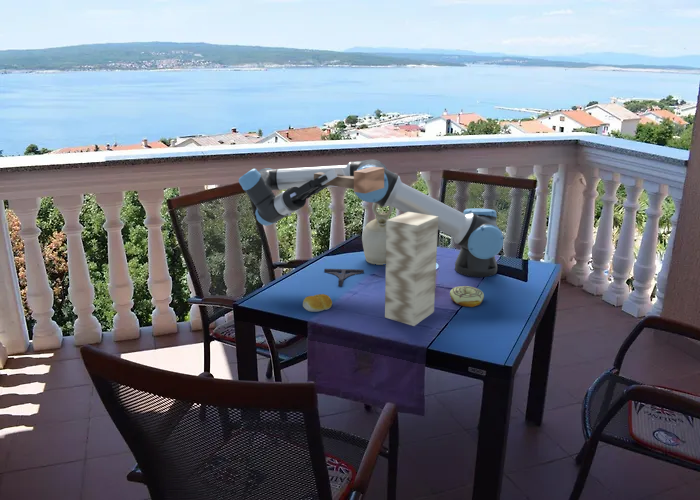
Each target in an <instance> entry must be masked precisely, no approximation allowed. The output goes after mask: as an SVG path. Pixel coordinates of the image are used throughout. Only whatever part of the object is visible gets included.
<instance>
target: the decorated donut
mask: <svg viewBox="0 0 700 500" xmlns="http://www.w3.org/2000/svg"><path fill="white" fill-rule="evenodd" d="M449 296H450V298H451V301H453V302H454V303H455V304H456V305H459V306H461V307H469V308H474V307H477V306H480V305H481V304H482V302H484V301H483V300H484V298H485V294H484V292H483V291H482V290H481V289H479V288H477V287H475V286H472V285H471V286H468V285H462V286H460V285H459V286H454V287H453V288H452V289H451V290H450V292H449Z"/></svg>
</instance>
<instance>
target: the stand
mask: <svg viewBox="0 0 700 500" xmlns="http://www.w3.org/2000/svg"><path fill="white" fill-rule="evenodd" d="M438 232H439V230H438V216H432V215H426V214H420V213H414V212H406V213H404V212H403V213H401V214H398V215H396V216H393V217H391V218H389V219H388V220H387V223H386V265H385V288H384V289H385V290H384V300H385V301H384V318H386V319H389V320H392V321H395V322H398V323H402V324H405V325H409V326H412V327H416V326H417V325H418V324H419V323H420V322H422V321H423V320H425V319H427V318H428V317H429V316H431V315H432V314H434V313H435V299H436V296H435V295H436V277H437V275H436V274H437V255H438V254H437V252H438Z"/></svg>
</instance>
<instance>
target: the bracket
mask: <svg viewBox="0 0 700 500" xmlns="http://www.w3.org/2000/svg"><path fill="white" fill-rule="evenodd" d="M323 272H324V273H326V274H330V275H332V276H336V277H337V278H338V282H337V283H338V285H337V286H338V287H342V286H343V284H344V281H345V280H346V279H347V278H348V277H351V276H355V274H356V275H362V274H364V272H365V269H356V268H355V269H352V268H350V269H349V268H324V271H323ZM361 273H362V274H361Z"/></svg>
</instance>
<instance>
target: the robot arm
mask: <svg viewBox="0 0 700 500" xmlns="http://www.w3.org/2000/svg"><path fill="white" fill-rule="evenodd" d="M370 167H381V168H384V188H382V189H378V190H375V191H372V192H369V193H358V192H354V194H355V196H356V197H358V199H360V200H361V201H363V202H366V203H371V204H373V203H376V204H377V206H380V207H382V208H386V207H389V206H392V207H393V209H394V208H395V209H397V210H398V211H401V212H402V213H403V214H404V213H406V212H414V213H420V214H426V215H432V216H438V231H441V232H442V233H444V234H446V235H448V236H451V237H452V238H453V239H454V240H453V241H454V243H455V244H457V245H459V246H460V251H459V253H458V255H457V257H456V260H455V262H454V270H455V271H456V272H457V273H458V274H461V275H463V276H468V277H472V278H473V277H474V278H486V277H491V276H494V275H496V274H497V272H498V262H497V259H496V256H497V255H498V254H499V253H500V252H501V250H502V248H503V246H504V235H503V232H502V229H500V227H499V226H498V224H497V218H498V216H497V211H496V210H495V209H493V208H492V209H491V208H479V207H477V208H475V207H474V208H473V207H472V208H466V209H464V210H463V212H462V211H459V210H458V209H456V208H453V207H452V206H450V205H447V204H446V203H443V202H441V201H440V200H437V199H436V198H434V197H432V196H430V195H427V194H426V193H423V192H422V191H419V190H418V189H416V188H414V187H413V186H409V185H408V184H406V183H404V182H402V180H401V177H400V175H398V174H397V173H394V171H393V172H392V171H390V170H389V169H388V167H387V166H386V165H385V164H384V163H383V162H381V161H379V160H377V159H365V160H358V161H357V160H356V161H349V162H348V163H347V164H343V165H341V164H339V165H323V166H308V167H307V166H306V167H292V168H289V167H288V168H276V169H275V168H270V167H267V168H262V169H260V170H258V169H257V168H252V169H251V170H249V171H247V172H246V173H244V174H243V175H241V176H240V177H239V178H238V183H239V185H240V186H241V188H242V190H243V191H244V193H246V195H247V196H248V197H249V199H250V200H251V202H252V203H253V204H254V206H255V207H256V209H255V216H256V217H255V218H256V220H257V221H258V223H259V224H261V225H262V226H266V227H267V226H271V225H274V224H276V223H278V222H279V221H281V220H283V219H284V218H286V217H287V216H288V217H290V216H292V214H293V213H294V212H296V211H297V210H299V209H301V208H304V207H305V205H306V204H307V203H306V202H307V199H310V198H311V197H312V196H313V195H315V194H319V193H320V192H321V191H323V190H325V188H337V187H338V186H331V185H324V184H326V183H328V182H329V181H331V180H333V179H334V178H336V177H338V176H337V174H338V175H345V176H353V177H354V171H358V170H362V169H366V168H370ZM318 172H322V173H325V174H323V175H322V176H320V177H318V178H319V179H318V178H316V179H315V180H314V173H318ZM338 188H339V187H338ZM282 190H283V191H282ZM352 190H353V191H354V189H352ZM273 191H282V192H280V193H279V194H277V195H275V193H274V192H273Z"/></svg>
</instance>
